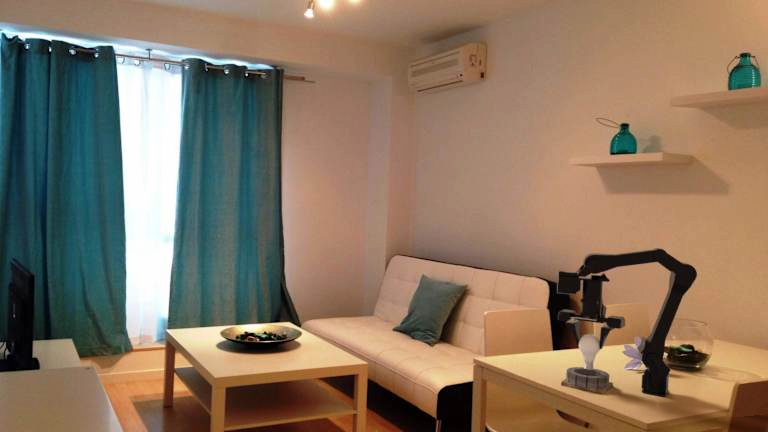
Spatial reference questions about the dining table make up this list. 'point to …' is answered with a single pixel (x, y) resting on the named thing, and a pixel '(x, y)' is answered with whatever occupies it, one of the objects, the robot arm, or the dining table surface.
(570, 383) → the grey stone fire pit
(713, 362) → the dining table surface
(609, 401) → the dining table surface
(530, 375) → the dining table surface
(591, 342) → the lightbulb
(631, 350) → the water lily
